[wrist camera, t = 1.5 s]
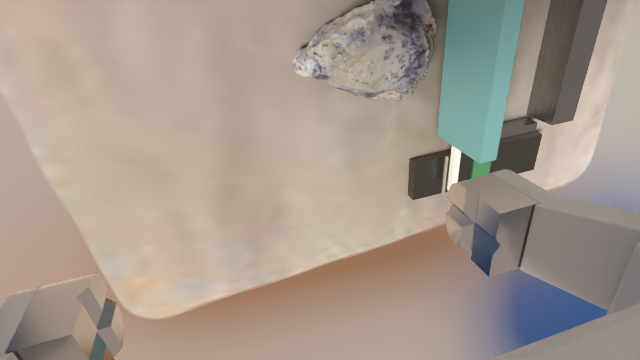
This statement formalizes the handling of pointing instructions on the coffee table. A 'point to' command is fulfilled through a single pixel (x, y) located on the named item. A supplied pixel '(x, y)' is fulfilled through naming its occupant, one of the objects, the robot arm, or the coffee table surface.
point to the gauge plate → (477, 77)
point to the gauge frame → (545, 102)
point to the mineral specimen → (373, 49)
